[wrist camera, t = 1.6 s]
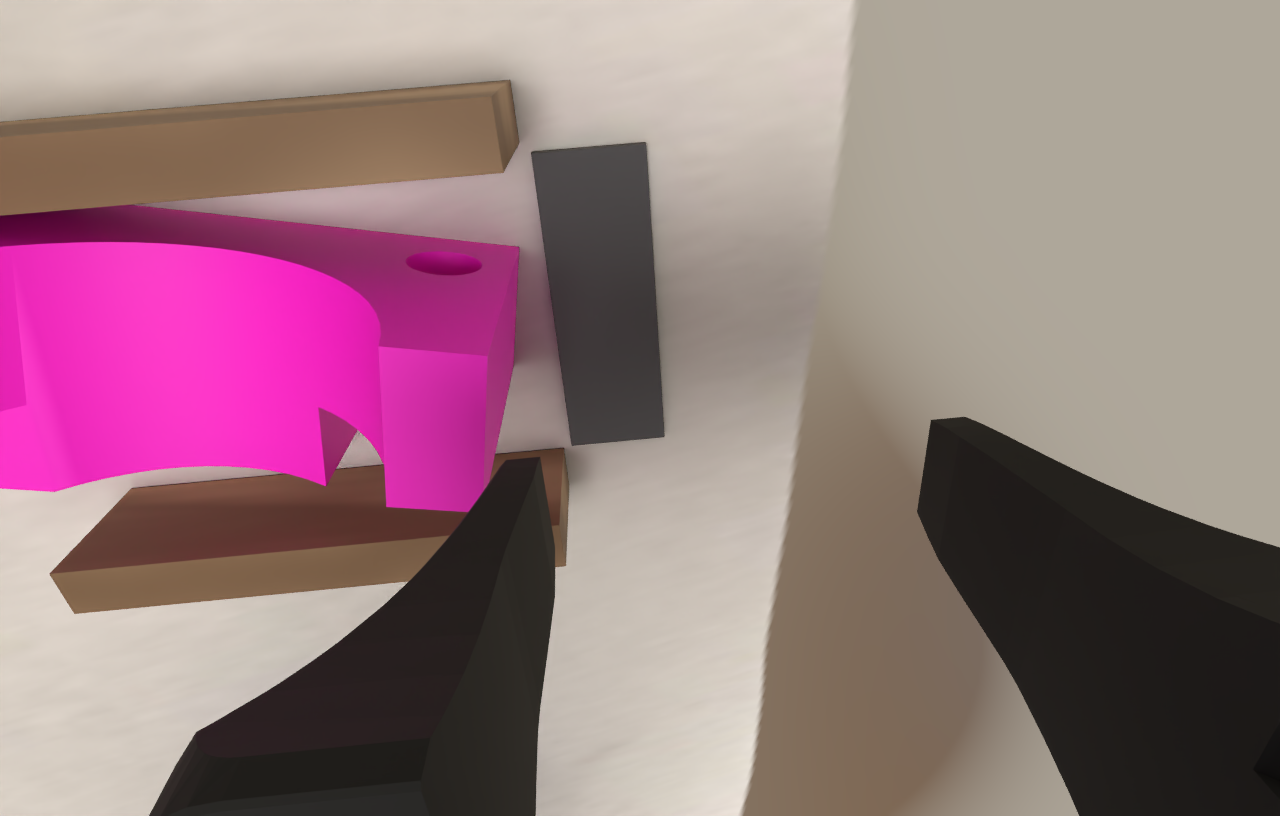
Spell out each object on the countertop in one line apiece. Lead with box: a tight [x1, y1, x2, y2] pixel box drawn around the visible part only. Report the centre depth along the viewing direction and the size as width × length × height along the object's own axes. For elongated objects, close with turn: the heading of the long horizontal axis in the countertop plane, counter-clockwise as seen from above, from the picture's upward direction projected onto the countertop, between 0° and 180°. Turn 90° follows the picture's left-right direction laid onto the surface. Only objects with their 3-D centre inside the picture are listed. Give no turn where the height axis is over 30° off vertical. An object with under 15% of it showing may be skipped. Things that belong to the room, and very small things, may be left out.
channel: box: [0, 80, 569, 614], centre depth 19 cm, size 12×14×4 cm
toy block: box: [0, 205, 519, 512], centre depth 17 cm, size 15×6×8 cm, turn 83°
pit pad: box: [531, 142, 664, 446], centre depth 21 cm, size 9×3×1 cm, turn 4°
